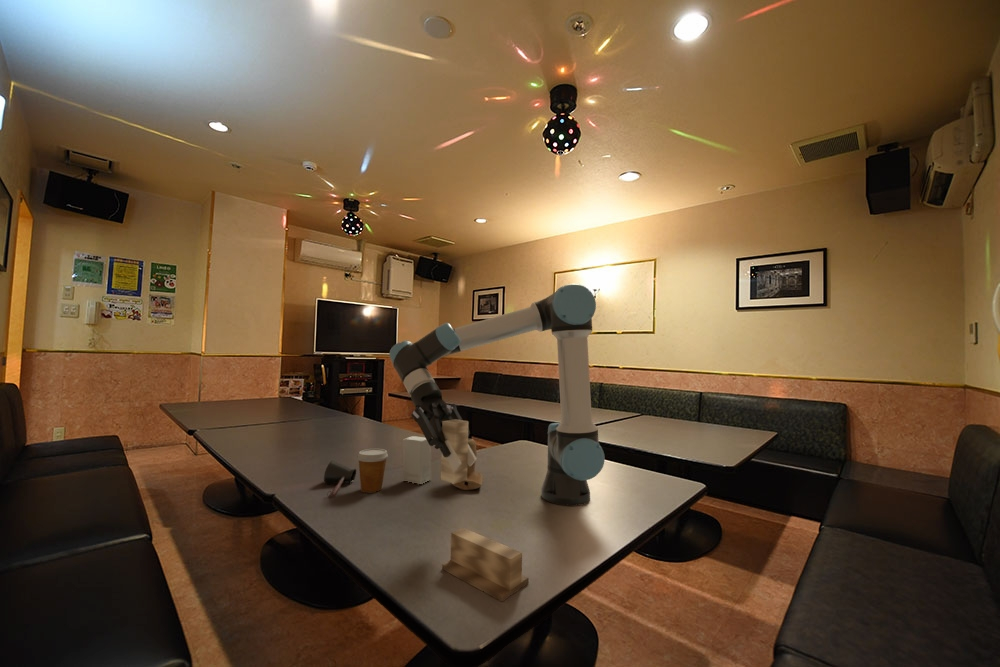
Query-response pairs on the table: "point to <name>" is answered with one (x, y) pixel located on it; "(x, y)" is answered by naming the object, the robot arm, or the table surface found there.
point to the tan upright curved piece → (471, 473)
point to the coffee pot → (338, 475)
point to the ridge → (485, 564)
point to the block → (459, 440)
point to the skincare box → (416, 460)
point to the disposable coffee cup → (372, 469)
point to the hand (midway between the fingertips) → (465, 464)
